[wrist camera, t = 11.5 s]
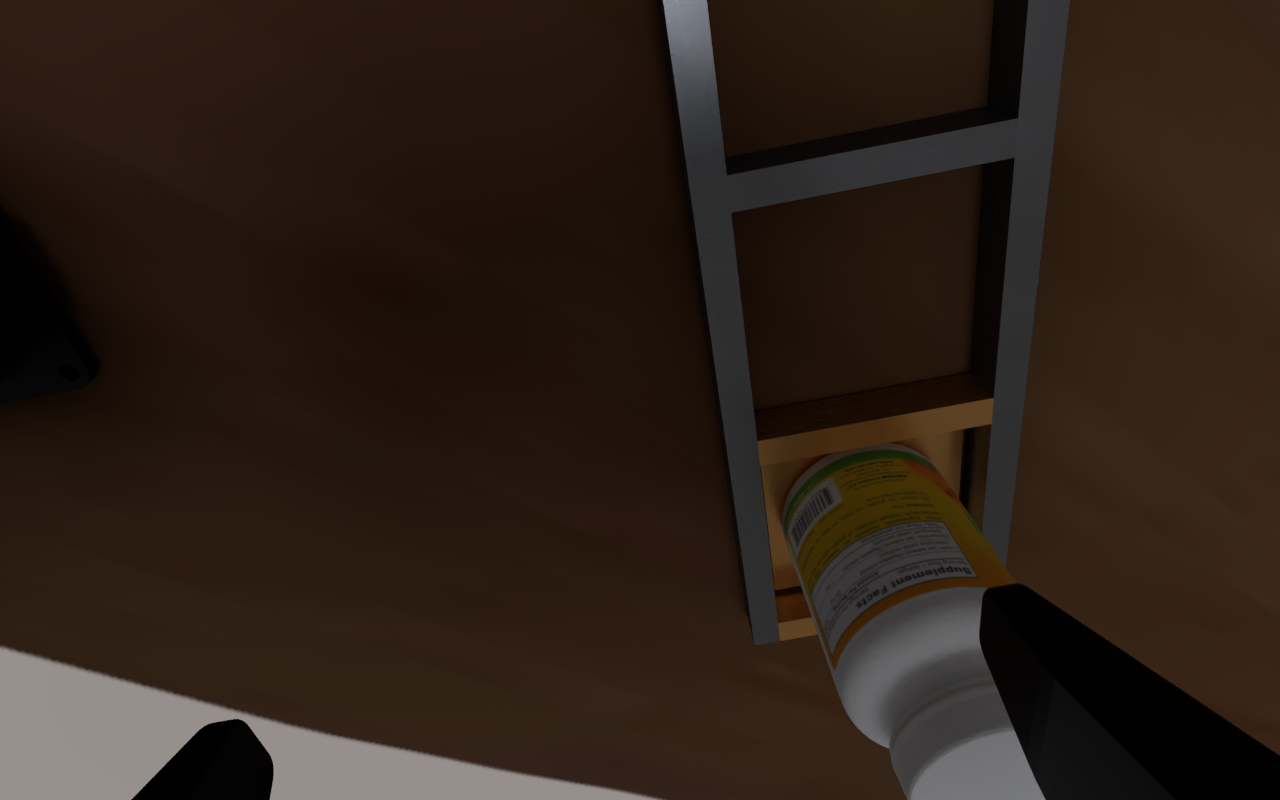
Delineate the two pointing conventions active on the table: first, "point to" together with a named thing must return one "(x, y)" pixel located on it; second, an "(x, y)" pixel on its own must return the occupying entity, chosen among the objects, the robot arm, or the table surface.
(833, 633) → the supplement bottle
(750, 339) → the table surface
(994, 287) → the divided tray
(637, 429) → the table surface
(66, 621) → the table surface
